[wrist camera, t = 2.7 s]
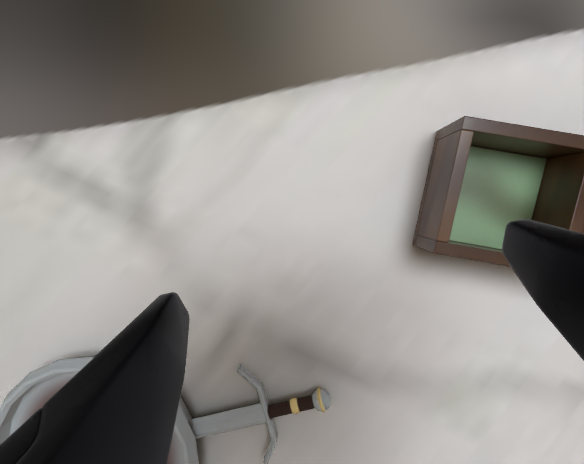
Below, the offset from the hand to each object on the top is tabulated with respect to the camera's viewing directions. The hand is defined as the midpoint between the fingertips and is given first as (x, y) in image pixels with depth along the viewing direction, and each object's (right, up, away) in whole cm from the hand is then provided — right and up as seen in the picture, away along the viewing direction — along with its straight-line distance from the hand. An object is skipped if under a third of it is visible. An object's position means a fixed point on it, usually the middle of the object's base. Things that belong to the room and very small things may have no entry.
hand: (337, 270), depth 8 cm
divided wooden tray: (+17, +3, +15) cm, 22 cm away
